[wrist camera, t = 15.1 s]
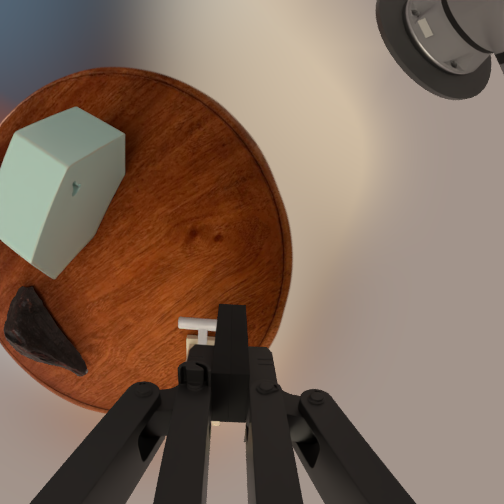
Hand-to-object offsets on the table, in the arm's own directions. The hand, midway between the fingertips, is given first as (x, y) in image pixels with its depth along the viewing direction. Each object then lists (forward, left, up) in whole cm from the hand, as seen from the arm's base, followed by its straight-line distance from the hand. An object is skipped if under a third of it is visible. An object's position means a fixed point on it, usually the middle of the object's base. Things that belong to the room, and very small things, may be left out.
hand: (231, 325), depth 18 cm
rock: (+33, -8, -26) cm, 43 cm away
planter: (+11, -18, -26) cm, 34 cm away
